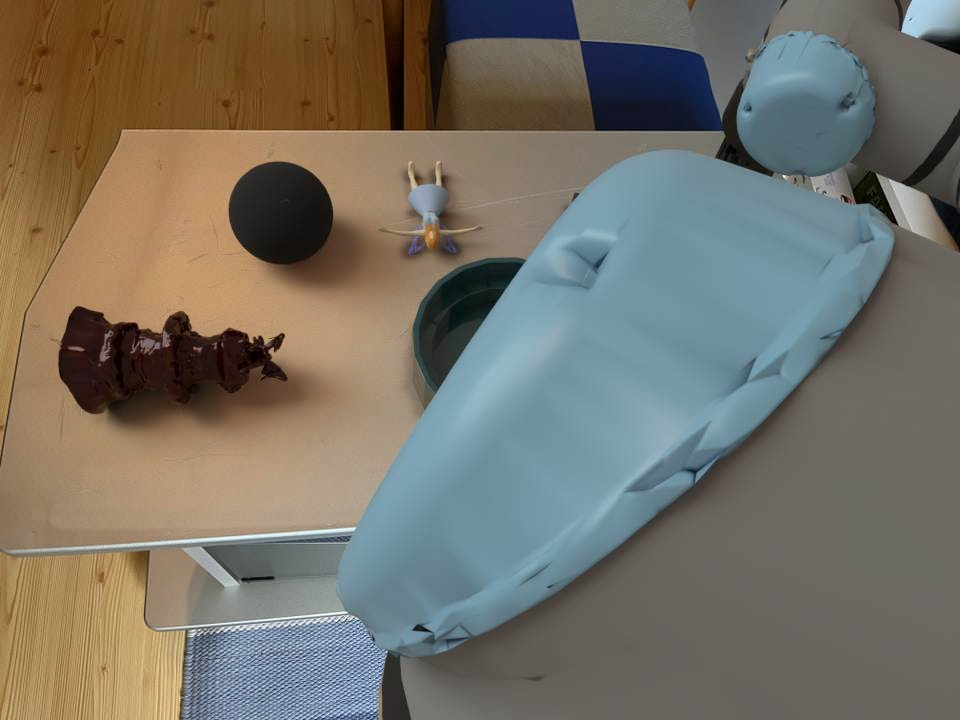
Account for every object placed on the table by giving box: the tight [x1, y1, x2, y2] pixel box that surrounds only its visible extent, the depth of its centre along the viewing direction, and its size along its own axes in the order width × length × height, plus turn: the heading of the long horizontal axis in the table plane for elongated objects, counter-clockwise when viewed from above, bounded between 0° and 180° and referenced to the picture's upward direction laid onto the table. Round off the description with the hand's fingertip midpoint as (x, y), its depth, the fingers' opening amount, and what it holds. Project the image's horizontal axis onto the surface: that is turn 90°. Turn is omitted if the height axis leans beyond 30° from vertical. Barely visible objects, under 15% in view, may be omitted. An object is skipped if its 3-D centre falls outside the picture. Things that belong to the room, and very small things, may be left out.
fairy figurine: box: [375, 160, 487, 255], centre depth 80 cm, size 12×5×12 cm
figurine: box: [57, 305, 289, 415], centre depth 67 cm, size 10×10×18 cm
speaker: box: [227, 160, 334, 266], centre depth 73 cm, size 10×10×10 cm
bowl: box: [410, 256, 527, 411], centre depth 71 cm, size 18×18×6 cm
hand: (683, 267), depth 79 cm, fingers closed on chopsticks, 2 cm apart
